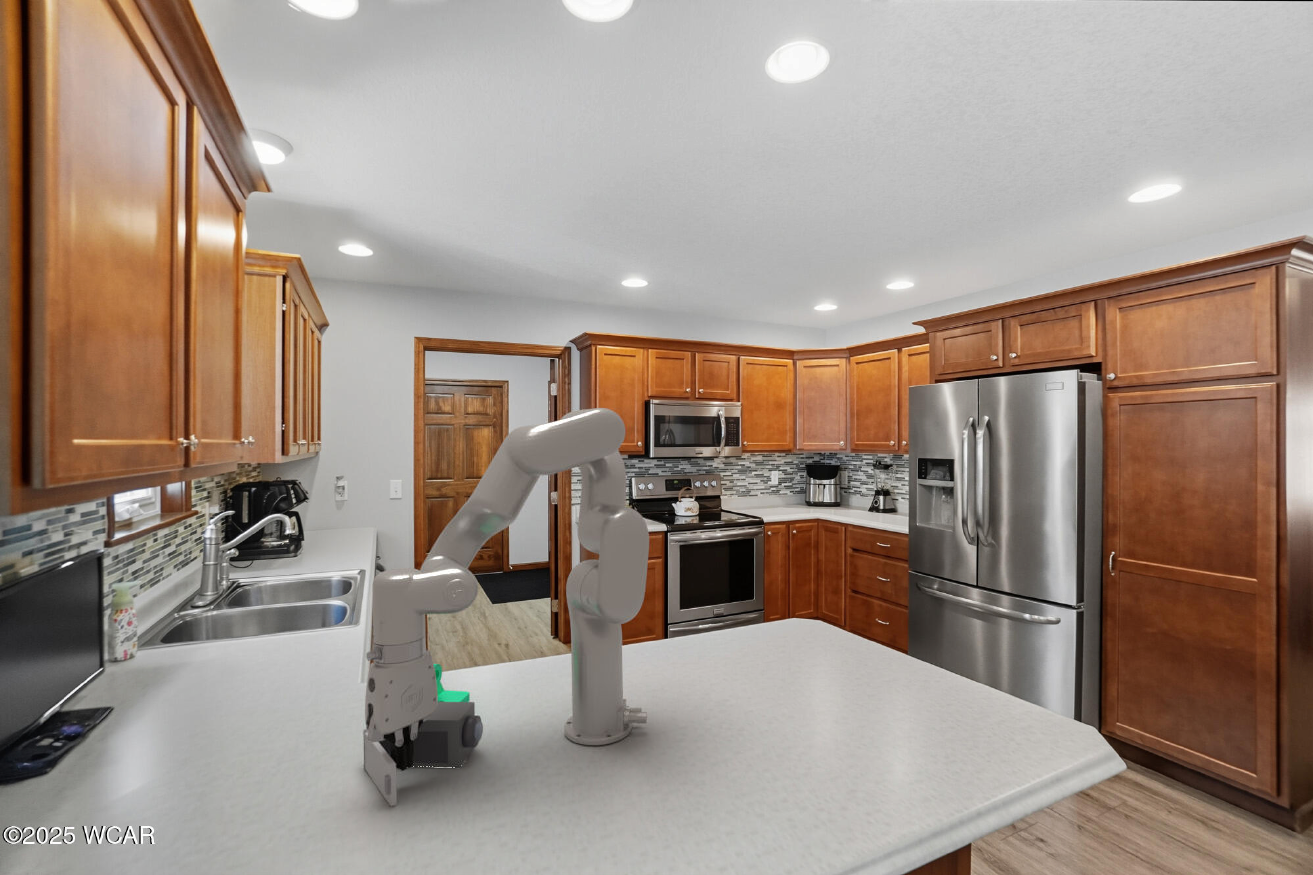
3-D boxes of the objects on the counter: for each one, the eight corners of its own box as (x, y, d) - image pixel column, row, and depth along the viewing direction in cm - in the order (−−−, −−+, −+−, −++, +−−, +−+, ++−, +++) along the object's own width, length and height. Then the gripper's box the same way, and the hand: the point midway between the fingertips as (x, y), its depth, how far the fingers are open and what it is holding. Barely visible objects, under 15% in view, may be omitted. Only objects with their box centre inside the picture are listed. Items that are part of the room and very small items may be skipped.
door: (397, 804, 90) (396, 762, 90) (387, 808, 89) (386, 765, 89) (369, 766, 101) (369, 727, 101) (360, 769, 100) (360, 730, 100)
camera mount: (441, 732, 113) (440, 677, 113) (404, 729, 115) (403, 675, 115) (471, 704, 125) (470, 654, 125) (437, 702, 126) (437, 653, 126)
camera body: (487, 747, 107) (486, 696, 107) (472, 769, 100) (471, 714, 100) (388, 745, 108) (387, 695, 108) (366, 767, 101) (365, 713, 101)
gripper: (368, 669, 86) (370, 797, 86) (455, 639, 98) (457, 751, 98) (340, 660, 90) (342, 782, 90) (426, 632, 103) (428, 739, 103)
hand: (402, 765), depth 94 cm, fingers closed
